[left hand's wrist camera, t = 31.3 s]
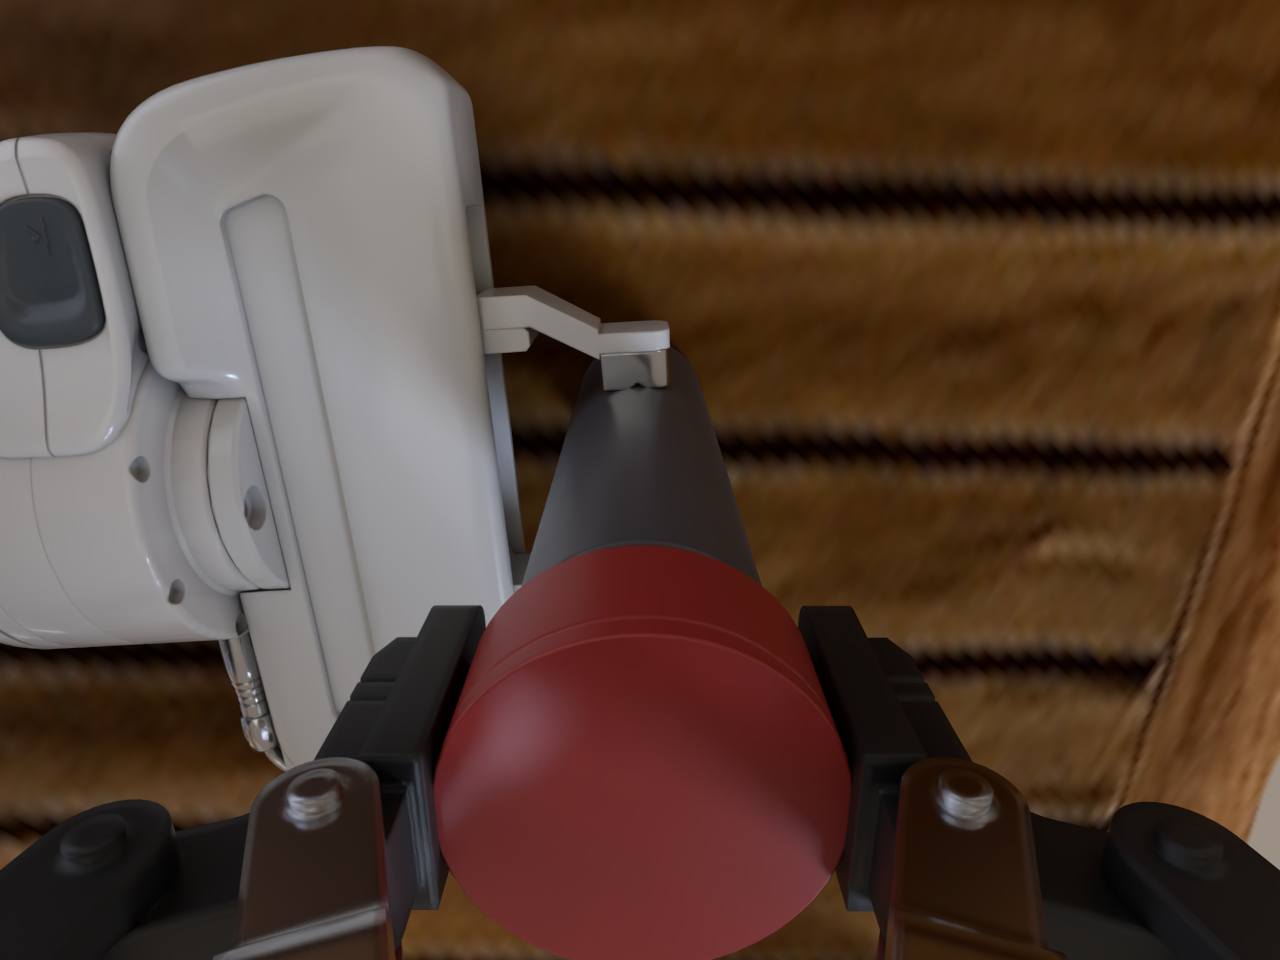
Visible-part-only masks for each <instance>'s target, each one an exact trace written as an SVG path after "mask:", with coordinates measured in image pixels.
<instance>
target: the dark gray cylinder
mask: <svg viewBox="0 0 1280 960" xmlns="http://www.w3.org/2000/svg"><path fill="white" fill-rule="evenodd" d="M670 362H671V384H669V385H667V386H663V387H656V388H646V387H644V386H642V385H641V384H639V383H636V384H635V385H634V386H633V387H631V388H630V389H623V390H604V387H603V376H602V366H601V355H600V359H597V358H595V359H594V360H593V361H592V363H591V364H590V365H589V367H588V369H587V370H586V372H585V375H584V377H583V379H582V383H581V386H580V390H579V393H578V396H577V400H576V403H575V407H574V410H573V413H572V417H571V420H570V423H569V427H568V430H567V434H566V437H565V440H564V444H563V447H562V451H561V454H560V457H559V461H558V464H557V467H556V471H555V474H554V478H553V481H552V484H551V488H550V491H549V495H548V498H547V501H546V505H545V508H544V511H543V515H542V518H541V522H540V525H539V528H538V532H537V535H536V539H535V542H534V545H533V549H532V552H531V556H530V559H529V562H528V566H527V569H526V572H525V576H524V579H523V583H522V586H523V585H525V584H526V583H527V582H529V581H530V580H531V579H532V578H534V577H535V576H537V575H539V574H540V573H542V572H544V571H546V570H547V569H549V568H551V567H553V566H554V565H557V564H559V563H562V562H564V561H566V560H569V559H571V558H574V557H576V556H579V555H583V554H586V553H590V552H593V551H597V550H601V549H608V548H614V547H621V546H642V545H651V546H662V547H672V548H677V549H682V550H686V551H691V552H696V553H699V554H702V555H705V556H708V557H710V558H713V559H716V560H719V561H721V562H723V563H725V564H727V565H729V566H731V567H733V568H735V569H737V570H739V571H741V572H742V573H744V574H745V575H747V576H748V577H750V578H751V579H753V580H754V581H756V582H757V583H759V584H760V585H761V582H760V579H759V575H758V572H757V569H756V566H755V562H754V559H753V556H752V552H751V549H750V546H749V543H748V539H747V536H746V533H745V530H744V526H743V523H742V520H741V517H740V513H739V510H738V507H737V504H736V500H735V497H734V494H733V490H732V487H731V484H730V481H729V477H728V474H727V471H726V468H725V464H724V461H723V458H722V455H721V451H720V448H719V445H718V442H717V438H716V435H715V432H714V428H713V425H712V422H711V419H710V415H709V412H708V409H707V406H706V402H705V399H704V396H703V393H702V389H701V386H700V383H699V380H698V377H697V374H696V372H695V371H694V369H693V367H692V365H691V364H690V363H689V361H688V360H687V359H686V358H685V357H684V356H683V355H682V354H681V353H680V352H678V351H677V350H676V349H674V348H673V347H671V346H670ZM522 586H521V587H522ZM761 586H762V585H761Z"/></svg>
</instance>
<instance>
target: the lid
mask: <svg viewBox="0 0 1280 960" xmlns="http://www.w3.org/2000/svg"><path fill="white" fill-rule="evenodd" d="M851 786H852V774H851V770H850V766H849V762H848V758H847V755H846V752H845V749H844V746H843V744H842V741H841V738H840V736H839V733H838V730H837V727H836V725H835V722H834V719H833V716H832V714H831V711H830V708H829V705H828V703H827V700H826V697H825V694H824V692H823V689H822V686H821V683H820V681H819V678H818V675H817V673H816V670H815V667H814V664H813V662H812V659H811V656H810V653H809V651H808V648H807V646H806V644H805V641H804V639H803V637H802V635H801V632H800V631H799V629H798V627H797V626H796V624H795V623H794V621H793V619H792V618H791V616H790V615H789V613H788V612H787V611H786V610H785V609H784V608H783V606H782V605H781V604H780V603H779V602H778V601H777V599H776V598H775V597H774V596H773V595H771V594H770V593H769V592H768V591H767V590H766V589H765V588H763V587H762V586H761V585H760V584H759V583H757V582H756V581H754V580H753V579H751V578H750V577H748V576H747V575H745V574H744V573H742V572H741V571H739V570H737V569H735V568H733V567H731V566H729V565H727V564H725V563H723V562H721V561H719V560H716V559H713V558H710V557H708V556H705V555H702V554H699V553H696V552H691V551H686V550H682V549H677V548H672V547H662V546H651V545H642V546H621V547H614V548H608V549H601V550H597V551H593V552H590V553H586V554H583V555H579V556H576V557H574V558H571V559H569V560H566V561H564V562H562V563H559V564H557V565H554V566H553V567H551V568H549V569H547V570H546V571H544V572H542V573H540V574H539V575H537V576H535V577H534V578H532V579H531V580H530V581H529V582H527V583H526V584H525V585H523V586H522V587H521V588H519V589H518V590H517V591H516V592H515V593H514V594H513V595H512V596H511V597H510V598H509V599H508V600H507V601H506V602H505V603H504V604H503V605H502V606H501V607H500V609H499V610H498V611H497V613H496V614H495V615H494V617H493V618H492V619H491V621H490V622H489V624H488V625H487V627H486V629H485V631H484V633H483V635H482V637H481V639H480V640H479V643H478V646H477V649H476V652H475V654H474V657H473V660H472V663H471V666H470V669H469V671H468V674H467V677H466V680H465V683H464V686H463V688H462V691H461V694H460V697H459V700H458V703H457V706H456V708H455V711H454V714H453V717H452V720H451V723H450V725H449V728H448V731H447V734H446V737H445V740H444V743H443V745H442V748H441V751H440V754H439V757H438V760H437V762H436V765H435V771H434V776H433V789H434V799H435V808H436V817H437V826H438V835H439V843H440V849H441V853H442V856H443V858H444V860H445V862H446V864H447V866H448V867H449V869H450V871H451V873H452V875H453V876H454V878H455V879H456V881H457V882H458V884H459V885H460V886H461V888H462V889H463V891H464V892H465V893H466V894H467V895H468V896H469V898H470V899H471V900H472V901H473V902H474V903H475V904H476V905H477V906H478V907H479V908H480V909H481V910H482V911H483V912H484V913H485V914H487V915H488V916H489V917H490V918H491V919H493V920H494V921H495V922H496V923H497V924H499V925H500V926H502V927H503V928H505V929H506V930H508V931H509V932H511V933H512V934H514V935H515V936H517V937H519V938H521V939H523V940H525V941H527V942H529V943H530V944H532V945H534V946H536V947H538V948H541V949H543V950H546V951H549V952H551V953H554V954H556V955H559V956H562V957H565V958H569V959H573V960H712V959H715V958H718V957H722V956H725V955H728V954H731V953H734V952H736V951H738V950H741V949H743V948H745V947H747V946H750V945H752V944H754V943H756V942H758V941H760V940H762V939H763V938H765V937H767V936H768V935H770V934H772V933H774V932H775V931H777V930H778V929H780V928H781V927H782V926H784V925H785V924H787V923H788V922H789V921H791V920H792V919H793V918H795V917H796V916H797V915H798V914H799V913H800V912H801V911H802V910H803V909H804V908H805V907H806V906H808V905H809V904H810V903H811V902H812V901H813V900H814V898H815V897H816V896H817V895H818V893H819V892H820V891H821V890H822V888H823V887H824V886H825V885H826V884H827V882H828V880H829V879H830V877H831V875H832V874H833V872H834V870H835V869H836V867H837V866H838V864H839V861H840V859H841V857H842V854H843V852H844V847H845V840H846V831H847V823H848V814H849V805H850V797H851Z"/></svg>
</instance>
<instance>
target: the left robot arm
mask: <svg viewBox="0 0 1280 960" xmlns="http://www.w3.org/2000/svg"><path fill="white" fill-rule="evenodd" d="M485 629H486V621H485V614H484V609H483V607H482V606H481V605H434V606H433V607H432V608H431V610H430V612H429V614H428V616H427V618H426V620H425V622H424V624H423V626H422V628H421V630H420V632H419V634H418V636H417V637H397V638H395V639H394V640H393V641H392V642H390V643H389V644H388V645H386V646H385V647H384V648H383V649H381V650H380V651H379V652H377V653H376V654H375V655H374V656H373V657H372V658H371V660H370V662H369V664H368V665H367V667H366V669H365V671H364V672H363V674H362V676H361V678H360V682H358V683H357V685H356V686H355V688H354V690H353V692H352V694H351V695H350V701H347V702H346V704H345V706H344V708H343V709H342V711H341V713H340V715H339V716H338V718H337V720H336V722H335V723H334V725H333V727H332V729H331V730H330V732H329V734H328V736H327V737H326V739H325V741H324V743H323V744H322V746H321V748H320V750H319V751H318V753H317V755H316V757H315V758H314V760H313V761H310V762H306V763H304V764H301V765H298V766H296V767H294V768H292V769H290V770H288V771H286V772H284V773H282V774H281V775H279V776H278V777H276V778H275V779H274V780H272V781H271V782H270V783H268V784H267V785H266V786H265V787H264V788H263V789H262V790H261V792H260V793H259V794H258V796H257V797H256V798H255V800H254V802H253V804H252V807H251V810H250V813H248V814H245V815H243V816H239V817H235V818H232V819H228V820H224V821H219V822H215V823H211V824H206V825H202V826H198V827H194V828H189V829H185V830H181V831H176V832H175V831H174V827H173V824H172V820H171V817H170V814H169V812H168V811H167V810H166V809H165V808H164V807H163V806H162V805H160V804H158V803H155V802H152V801H148V800H140V799H136V800H122V801H116V802H111V803H107V804H103V805H100V806H97V807H94V808H91V809H89V810H86V811H84V812H81V813H79V814H77V815H75V816H73V817H71V818H69V819H67V820H66V821H64V822H62V823H61V824H59V825H57V826H56V827H54V828H53V829H52V830H50V831H49V832H48V833H46V834H45V835H44V836H42V837H41V838H40V839H39V840H37V841H36V842H35V843H34V844H32V845H31V846H30V847H29V848H27V849H26V850H25V851H24V852H22V853H21V854H20V855H19V856H17V857H16V858H15V859H14V860H13V861H11V862H10V863H9V864H8V865H6V866H5V867H4V868H3V869H1V870H0V960H404V955H403V948H402V941H401V940H402V938H403V935H404V931H405V928H406V925H407V922H408V919H409V916H410V912H411V910H438V908H439V905H440V901H441V897H442V894H443V890H444V887H445V883H446V879H447V876H448V872H449V867H448V866H447V864H446V862H445V860H444V858H443V856H442V853H441V849H440V843H439V835H438V826H437V817H436V808H435V799H434V789H433V776H434V771H435V765H436V762H437V760H438V757H439V754H440V751H441V748H442V745H443V743H444V740H445V737H446V734H447V731H448V728H449V725H450V723H451V720H452V717H453V714H454V711H455V708H456V706H457V703H458V700H459V697H460V694H461V691H462V688H463V686H464V683H465V680H466V677H467V674H468V671H469V669H470V666H471V663H472V660H473V657H474V654H475V652H476V649H477V646H478V643H479V640H480V639H481V637H482V635H483V633H484V631H485ZM798 629H799V631H800V632H801V635H802V637H803V639H804V641H805V644H806V646H807V648H808V651H809V653H810V656H811V659H812V662H813V664H814V667H815V670H816V673H817V675H818V678H819V681H820V683H821V686H822V689H823V692H824V694H825V697H826V700H827V703H828V705H829V708H830V711H831V714H832V716H833V719H834V722H835V725H836V727H837V730H838V733H839V736H840V738H841V741H842V744H843V746H844V749H845V752H846V755H847V758H848V762H849V766H850V770H851V774H852V786H851V797H850V805H849V814H848V823H847V831H846V840H845V847H844V852H843V854H842V857H841V859H840V861H839V864H838V866H837V867H836V869H835V870H836V874H837V877H838V881H839V884H840V888H841V891H842V895H843V898H844V902H845V905H846V909H847V911H874V912H875V915H876V918H877V921H878V925H879V928H880V934H879V941H878V948H877V955H876V960H1280V870H1279V869H1277V868H1276V867H1275V866H1274V865H1272V864H1271V863H1270V862H1269V861H1267V860H1266V859H1265V858H1264V857H1262V856H1261V855H1260V854H1259V853H1258V852H1256V851H1255V850H1254V849H1253V848H1251V847H1250V846H1249V845H1248V844H1246V843H1245V842H1244V841H1243V840H1241V839H1240V838H1239V837H1238V836H1236V835H1235V834H1233V833H1232V832H1231V831H1229V830H1228V829H1226V828H1225V827H1223V826H1221V825H1220V824H1218V823H1217V822H1215V821H1213V820H1211V819H1209V818H1207V817H1205V816H1203V815H1200V814H1198V813H1196V812H1193V811H1191V810H1188V809H1185V808H1181V807H1178V806H1174V805H1170V804H1165V803H1158V802H1137V803H1132V804H1129V805H1125V806H1124V807H1122V808H1120V809H1119V810H1118V811H1117V812H1116V813H1115V814H1114V816H1113V818H1112V821H1111V825H1110V829H1109V833H1108V832H1104V831H1100V830H1095V829H1091V828H1087V827H1082V826H1078V825H1074V824H1069V823H1065V822H1061V821H1057V820H1053V819H1049V818H1046V817H1043V816H1040V815H1037V814H1034V813H1032V812H1030V810H1029V807H1028V804H1027V802H1026V800H1025V798H1024V797H1023V796H1022V794H1021V793H1020V792H1019V790H1018V789H1017V788H1016V787H1015V786H1014V785H1013V784H1012V783H1010V782H1009V781H1008V780H1007V779H1005V778H1004V777H1003V776H1001V775H999V774H998V773H996V772H994V771H992V770H990V769H988V768H986V767H984V766H982V765H979V764H976V763H974V762H972V760H971V759H970V757H969V755H968V753H967V752H966V750H965V748H964V747H963V745H962V743H961V741H960V740H959V738H958V736H957V734H956V733H955V731H954V729H953V727H952V726H951V724H950V722H949V721H948V719H947V717H946V715H945V714H944V712H943V710H942V708H941V707H940V705H939V703H938V702H935V696H934V695H933V693H932V691H931V689H930V688H929V686H928V684H927V683H925V682H924V677H923V676H922V674H921V672H920V670H919V669H918V667H917V665H916V664H915V662H914V660H913V658H912V657H911V656H910V655H909V654H907V653H906V652H905V651H903V650H902V649H901V648H900V647H898V646H897V645H896V644H894V643H893V642H892V641H890V640H889V639H888V638H867V636H866V634H865V632H864V630H863V628H862V626H861V624H860V622H859V620H858V618H857V616H856V614H855V612H854V610H853V608H852V607H851V606H802V608H801V610H800V614H799V621H798Z"/></svg>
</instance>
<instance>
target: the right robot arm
mask: <svg viewBox="0 0 1280 960" xmlns="http://www.w3.org/2000/svg"><path fill="white" fill-rule="evenodd" d="M539 332H541V333H543V334H545V335H547V336H550V337H552V338H554V339H556V340H558V341H560V342H562V343H565V344H567V345H569V346H571V347H573V348H575V349H577V350H580V351H582V352H584V353H586V354H588V355H590V356H592V357H594V358H597V359H600V355H601V366H602V376H603V387H604V390H623V389H630V388H631V387H633V386H634V385H635V384H636V383H639V384H641V385H642V386H644V387H646V388H656V387H663V386H667V385H669V384H671V362H670V337H669V325H668V322H666V321H658V320H650V321H633V322H615V323H601V319H600V318H598V317H596V316H594V315H592V314H590V313H588V312H587V311H585V310H583V309H581V308H579V307H577V306H575V305H573V304H571V303H569V302H567V301H565V300H563V299H561V298H559V297H557V296H555V295H553V294H551V293H549V292H547V291H545V290H543V289H541V288H539V287H537V286H519V287H502V288H494V281H493V273H492V265H491V256H490V248H489V240H488V231H487V223H486V214H485V206H484V198H483V189H482V181H481V172H480V164H479V156H478V147H477V139H476V131H475V122H474V114H473V106H472V102H471V99H470V96H469V95H468V93H467V91H466V90H465V89H464V88H463V87H462V86H461V85H460V84H459V83H458V82H457V81H456V80H455V79H454V78H452V77H451V76H450V75H449V74H448V73H447V72H446V71H445V70H444V69H442V68H441V67H440V66H439V65H437V64H436V63H435V62H434V61H432V60H431V59H429V58H428V57H426V56H424V55H422V54H420V53H418V52H416V51H413V50H410V49H407V48H402V47H396V46H374V47H357V48H348V49H340V50H332V51H324V52H316V53H310V54H304V55H297V56H291V57H285V58H279V59H274V60H269V61H264V62H259V63H254V64H249V65H245V66H241V67H236V68H232V69H228V70H224V71H220V72H216V73H212V74H208V75H204V76H201V77H197V78H193V79H190V80H187V81H184V82H181V83H178V84H175V85H173V86H170V87H168V88H166V89H164V90H162V91H159V92H158V93H156V94H154V95H153V96H151V97H149V98H148V99H146V100H145V101H144V102H142V103H141V104H140V105H139V106H138V107H136V108H135V109H134V110H133V111H132V112H131V113H130V115H129V116H128V117H127V118H126V120H125V121H124V123H123V125H122V126H121V128H120V129H119V132H118V134H111V133H96V132H84V133H53V134H42V135H33V136H26V137H19V138H12V139H8V140H4V141H1V142H0V643H3V644H7V645H12V646H17V647H25V648H34V649H57V648H74V647H95V646H113V645H131V644H153V643H171V642H189V641H207V640H217V642H218V645H219V649H220V653H221V656H222V660H223V664H224V667H225V670H226V673H227V675H228V678H229V680H230V683H231V685H232V686H233V689H234V691H235V694H236V697H237V700H238V702H239V707H240V713H239V717H240V724H241V728H242V731H243V734H244V737H245V739H246V741H247V743H248V744H249V746H250V747H251V749H252V750H253V751H255V752H264V753H265V754H266V756H267V758H268V759H269V760H270V761H271V762H272V763H273V764H274V765H275V766H276V767H278V768H279V769H280V770H282V771H283V772H286V771H288V770H290V769H292V768H294V767H296V766H298V765H301V764H304V763H306V762H310V761H313V760H314V758H315V757H316V755H317V753H318V751H319V750H320V748H321V746H322V744H323V743H324V741H325V739H326V737H327V736H328V734H329V732H330V730H331V729H332V727H333V725H334V723H335V722H336V720H337V718H338V716H339V715H340V713H341V711H342V709H343V708H344V706H345V704H346V702H347V701H350V695H351V694H352V692H353V690H354V688H355V686H356V685H357V683H358V682H360V678H361V676H362V674H363V672H364V671H365V669H366V667H367V665H368V664H369V662H370V660H371V658H372V657H373V656H374V655H375V654H376V653H377V652H379V651H380V650H381V649H383V648H384V647H385V646H386V645H388V644H389V643H390V642H392V641H393V640H394V639H395V638H397V637H417V636H418V634H419V632H420V630H421V628H422V626H423V624H424V622H425V620H426V618H427V616H428V614H429V612H430V610H431V608H432V607H433V606H434V605H481V606H482V607H483V609H484V614H485V621H486V627H487V625H488V624H489V622H490V621H491V619H492V618H493V617H494V615H495V614H496V613H497V611H498V610H499V609H500V607H501V606H502V605H503V604H504V603H505V602H506V601H507V600H508V599H509V598H510V597H511V596H512V595H513V594H514V593H515V592H516V591H517V590H518V589H519V588H521V586H522V583H523V579H524V576H525V572H526V569H527V566H528V562H529V559H530V556H531V553H526V550H525V541H524V533H523V524H522V516H521V508H520V499H519V491H518V483H517V474H516V466H515V457H514V449H513V441H512V432H511V424H510V415H509V407H508V399H507V390H506V382H505V374H504V365H503V357H502V353H507V352H521V351H527V349H528V348H529V347H530V345H531V344H532V342H533V341H534V340H535V338H536V337H537V335H538V334H539ZM279 744H280V747H281V750H280V749H279V748H278V745H279Z"/></svg>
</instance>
